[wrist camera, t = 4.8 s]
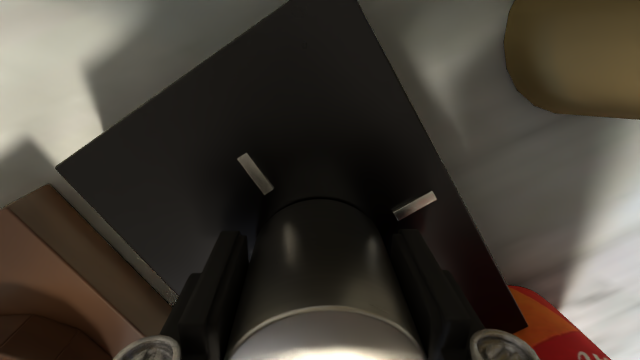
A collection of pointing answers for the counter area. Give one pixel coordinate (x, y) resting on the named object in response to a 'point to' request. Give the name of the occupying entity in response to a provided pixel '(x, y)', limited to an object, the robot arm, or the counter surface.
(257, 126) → the panel
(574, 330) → the paper cup
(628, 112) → the cork
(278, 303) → the knob
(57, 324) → the button block
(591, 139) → the counter surface
